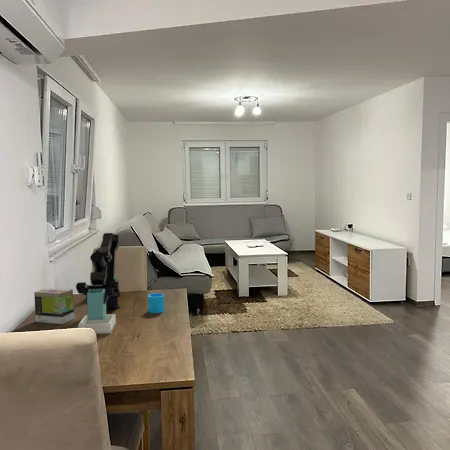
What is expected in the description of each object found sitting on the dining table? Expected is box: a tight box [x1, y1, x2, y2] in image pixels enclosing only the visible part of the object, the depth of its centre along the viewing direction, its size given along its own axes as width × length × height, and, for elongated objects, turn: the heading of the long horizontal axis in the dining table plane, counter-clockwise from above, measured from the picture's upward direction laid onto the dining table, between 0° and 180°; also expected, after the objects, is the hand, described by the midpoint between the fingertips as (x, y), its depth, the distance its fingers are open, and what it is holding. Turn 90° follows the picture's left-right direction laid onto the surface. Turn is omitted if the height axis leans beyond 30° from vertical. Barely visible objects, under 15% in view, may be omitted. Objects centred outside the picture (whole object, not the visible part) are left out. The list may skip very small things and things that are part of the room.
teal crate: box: [86, 289, 107, 320], centre depth 195 cm, size 7×7×12 cm
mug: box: [147, 292, 165, 314], centre depth 224 cm, size 12×8×8 cm
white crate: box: [77, 313, 117, 335], centre depth 195 cm, size 14×14×4 cm
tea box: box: [33, 287, 75, 325], centre depth 209 cm, size 15×10×15 cm
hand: (96, 303), depth 193 cm, fingers closed on teal crate, 7 cm apart
